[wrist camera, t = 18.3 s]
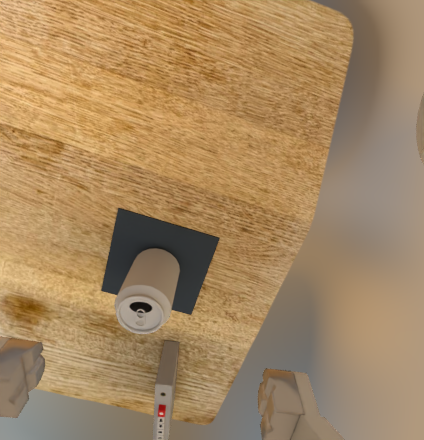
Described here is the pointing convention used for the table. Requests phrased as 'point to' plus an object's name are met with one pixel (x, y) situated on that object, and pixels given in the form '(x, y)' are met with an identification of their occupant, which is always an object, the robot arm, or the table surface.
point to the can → (148, 292)
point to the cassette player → (165, 390)
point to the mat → (166, 240)
